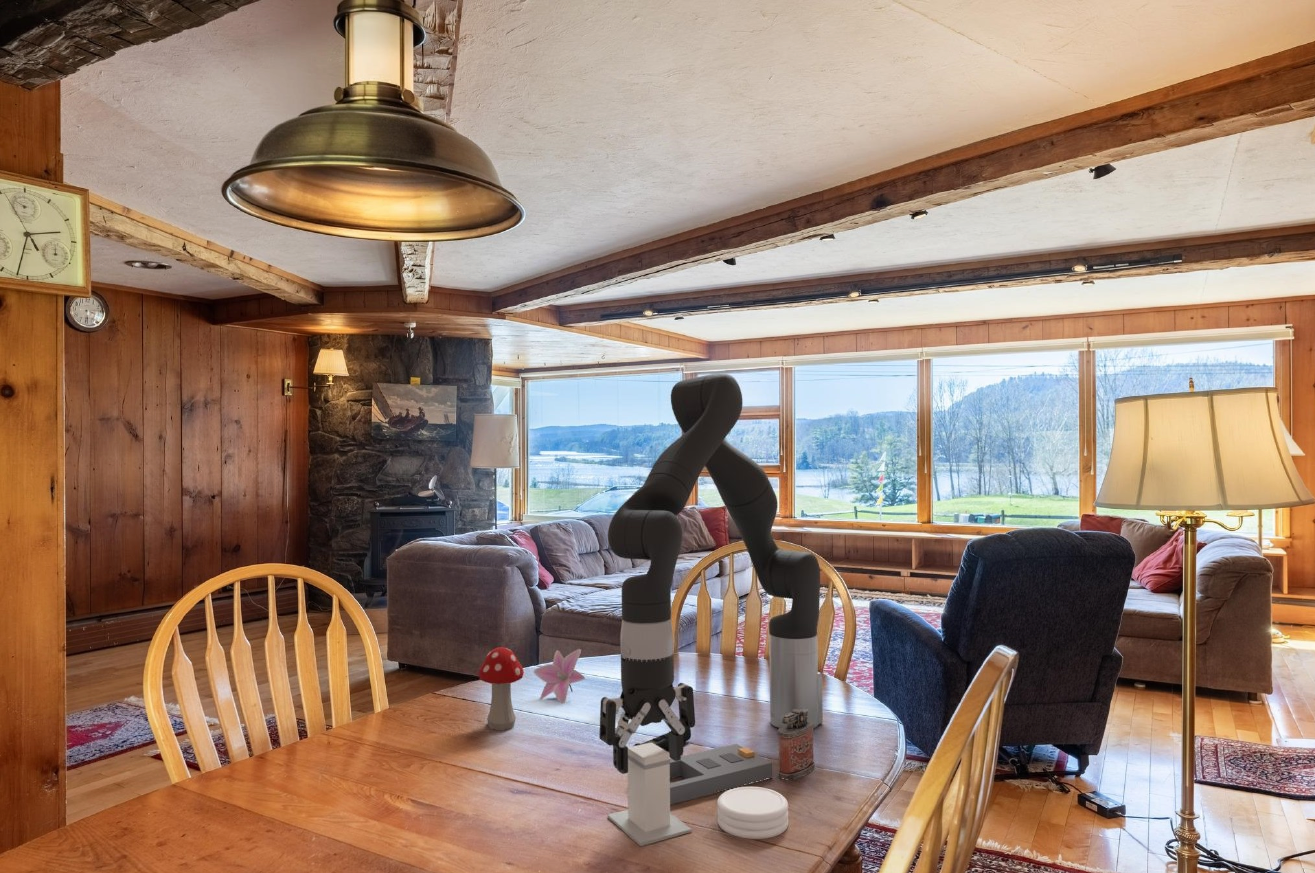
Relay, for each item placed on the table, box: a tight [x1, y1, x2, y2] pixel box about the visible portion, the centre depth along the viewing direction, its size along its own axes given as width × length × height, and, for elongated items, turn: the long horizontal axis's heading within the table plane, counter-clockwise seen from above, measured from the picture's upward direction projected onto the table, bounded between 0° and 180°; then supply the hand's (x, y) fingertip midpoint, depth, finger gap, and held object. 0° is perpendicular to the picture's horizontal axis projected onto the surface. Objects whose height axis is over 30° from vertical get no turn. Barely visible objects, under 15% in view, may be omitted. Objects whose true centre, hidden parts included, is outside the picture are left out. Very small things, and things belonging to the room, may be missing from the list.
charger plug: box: [627, 742, 671, 832], centre depth 115 cm, size 4×5×10 cm
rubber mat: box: [607, 809, 692, 847], centre depth 114 cm, size 8×10×1 cm
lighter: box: [777, 709, 816, 781], centre depth 133 cm, size 8×3×10 cm, turn 134°
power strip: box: [670, 743, 773, 806], centre depth 130 cm, size 20×10×3 cm, turn 120°
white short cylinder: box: [716, 786, 789, 840], centre depth 115 cm, size 10×10×4 cm
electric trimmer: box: [633, 727, 692, 752], centre depth 143 cm, size 4×16×3 cm, turn 139°
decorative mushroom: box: [478, 646, 525, 731], centre depth 158 cm, size 10×9×15 cm
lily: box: [533, 648, 585, 704], centre depth 177 cm, size 12×12×10 cm
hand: (648, 765), depth 115 cm, fingers open, 8 cm apart
